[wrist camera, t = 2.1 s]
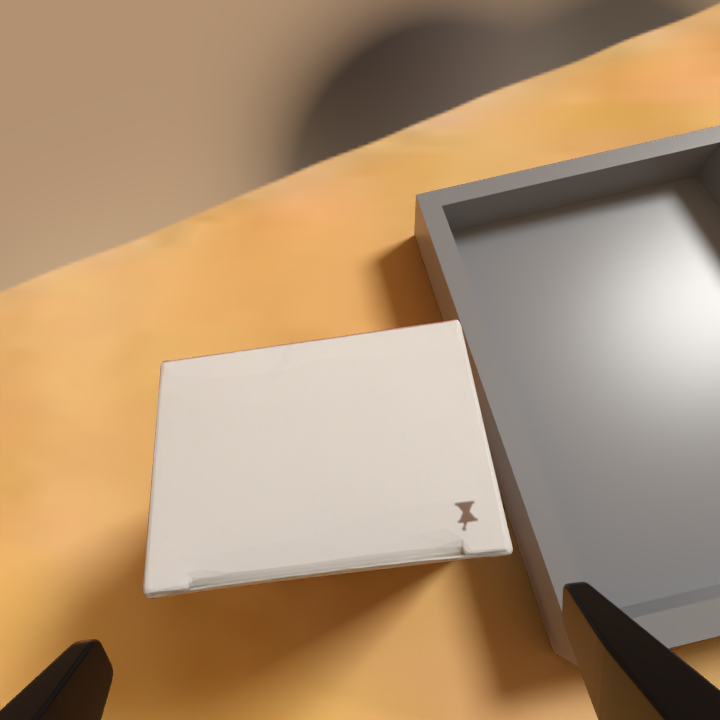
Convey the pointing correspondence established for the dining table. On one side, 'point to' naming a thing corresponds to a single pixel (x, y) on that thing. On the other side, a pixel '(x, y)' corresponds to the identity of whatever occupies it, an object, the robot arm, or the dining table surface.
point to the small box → (320, 462)
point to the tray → (598, 369)
